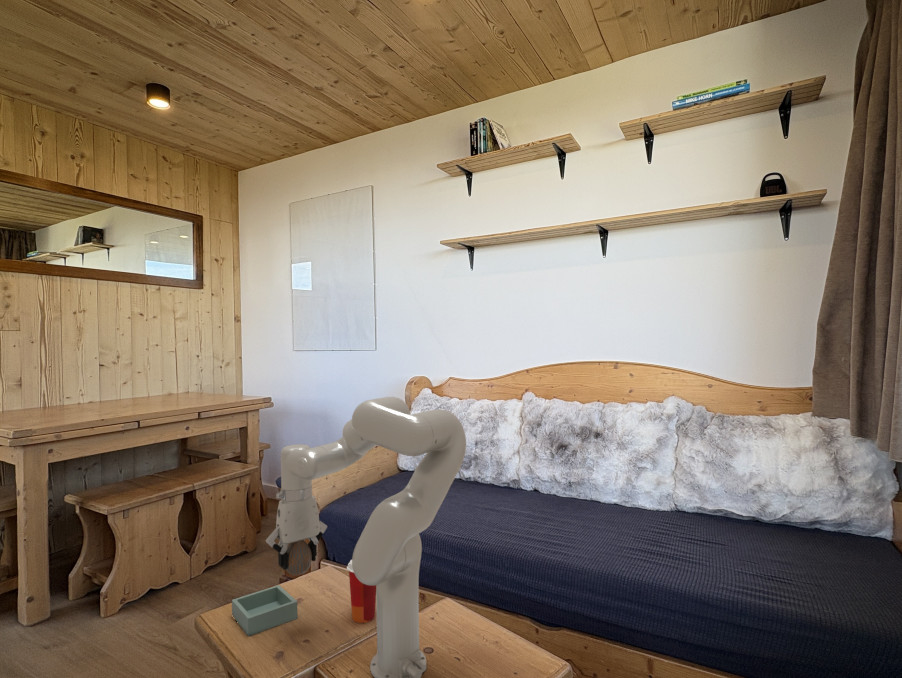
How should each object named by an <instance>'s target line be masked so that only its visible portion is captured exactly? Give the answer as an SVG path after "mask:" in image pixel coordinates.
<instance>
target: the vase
mask: <svg viewBox="0 0 902 678" xmlns="http://www.w3.org/2000/svg"><path fill="white" fill-rule="evenodd" d="M286 553H287V562H288V568H287V570H286V572H287V573H289V574H290V575H291V576H301V575H304V574H305V573H306V572H308V570H309V569H310V568H311V565H312V562H313V561H312V553H311V549H310V547H309V545H308V542H306V540H301V541H297V542H294V543H289V544H288V546H287V549H286Z"/></svg>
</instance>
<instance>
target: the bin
mask: <svg viewBox="0 0 902 678" xmlns="http://www.w3.org/2000/svg"><path fill="white" fill-rule="evenodd" d="M232 615H233V617H234V618H235V620H236V621H237V622H238V623H237V622H236V621H235V620H234V621H235V622H236V623H237V625H238V624H239V625H240V626H241V627H240V626H239V625H238V626H239V627H240V628H241V630H242V629H243V630H242V631H243V632H244V634H246V636H247V637H248V638H249V637H252V636H253V635H256V634H259V633H263V632H264V631H267V630H270V629H273V628H276V627H278V626H280V625H284V624H287V623H289V622H291V621H294V620H297V619H298V617H299V616H298V601H297V599H295V598H294V597H293V596H292V595H291V594H289V593H288V591H286V590H285V589H284V588H283V587H282V586H281V585H280V584H277V585H273V586H272V587H268V588H265V589H261V590H259V591H255V592H253V593H249V594H245V595H243V596H240V597H237V598H233V599H232V600H231V616H232ZM233 617H232V618H233Z"/></svg>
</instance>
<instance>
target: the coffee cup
mask: <svg viewBox="0 0 902 678" xmlns="http://www.w3.org/2000/svg"><path fill="white" fill-rule="evenodd" d="M346 570H347V571H348V575H349V576H348V578H349V580H348V581H349V591H350V604H351V616H352V620H353V622H354V623H357V624H367V623H369V622H371V621H373V620H374V619H375V617H376V588H377V585H374V586H370V585H366V584H363V583H362V582H360V581H359V580H358V579H357V577H356V576H355V573H354V571H353V567H352V559H350V561H349V562H348V564H347V566H346Z"/></svg>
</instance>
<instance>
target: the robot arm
mask: <svg viewBox="0 0 902 678" xmlns="http://www.w3.org/2000/svg"><path fill="white" fill-rule="evenodd" d="M377 446H379V447H381V448H384V449H387V450H389V451H391V452H394V453H397V454H400V455H403V456H406V457H417V456H421V455H424V454H425V455H424V457H423V458H422V459H421V460H420V462H419V463H418V464H417V465H416V468H415V470H414V472H413V473H412V476H411V478H410V479H409V482H408V483H407V485H405V487H404V488H403V489H402V490H401V491H399V492H398V493H396V494H394V495H391V496H389V497H387V498H385V499H383V500H382V501H381V502H380V503H379V504H378V505H376V507H375V508H374V510H373V511H372V513H371V514H370V516H369V518H368V520H367V522H366V524H365V526H364V529H363V530H362V531H361V534H360V537H358V540H357V542H356V544H355V547H354V549H353V551H352V552H353V553H352V557H351V558H352V559H351V560H352V567H353V571H354V573H355V576H356V577H357V579H358V580H359V581H360V582H362V583H363V584H366V585H370V586H374V585H376V606H375V613H376V654H375V655H373V657H372V659H371V660H370V664H369V667H370V668H369V669H370V673H371V675H372V676H373V677H374V678H422V677H423V673H424V672H426V671H427V668H428V666H427V658H426V655H425V654H424V652H423V651H422V650H420V615H419V612H420V610H419V608H420V607H419V597H420V596H419V594H420V593H419V579H420V577H419V575H420V566H421V558H422V552H423V551H422V550H423V549H422V548H423V547H422V545H423V544H422V539H421V535H420V533H422V532H423V531H425V530H427V529H428V528H429V527H430V526H431V524H432V523H433V521H434V519H435V517H436V515H437V513H438V511H439V509H440V508H441V505H442V504H443V502H444V499H446V497H447V494H448V492H449V490H450V488H451V486H452V484H453V482H454V481H455V478H456V477H457V475H458V473H459V471H460V469H461V467H462V465H463V461H464V458H465V457H466V455H465V454H466V452H467V451H466V450H467V438H466V432H465V429H464V426H463V425H462V423H461V421H460V419H459V418H458V417H457V416H456V415H455V414H454V413H453V412H451V411H449V410H446V409H431V410H425V411H422V412H417V413H413V414H411V410H410V408H409V405H408V404H407V403H406V402H405V401H404V400H403V399H401V398H399V397H395V396H384V397H379V398H372V399H367V400H365V401H363V402H361V403H359V404H358V405H357V407H356V408H355V409H354V411H353V413H352V415H351V419H350V420H349V421H347V422H346V423H345V424H344V425H343V427H342V436H341V437H340V438H338V439H337V440H335V441H334V442H330V443H326V444H322V445H318V446H314V447H310V446H309V445H308V444H303V443H302V444H299V443H298V444H290V445H287V446H284V447H283V448H281V451H280V452H281V453H280V472H281V473H280V474H281V475H280V478H281V479H280V480H281V482H280V484H281V487H280V491H279V492H277V493H276V494H275V496H276V497H275V498H276V499H281V500H279V502H278V507H277V512H276V521H275V522H276V523H275V528H274V530H273V531H272V532H271V533H270V534H269V535H268V537H267V538H266V540H265V542H266V543H267V544H268V545H269V546H270V547H271V548H272V549H273V550H275V551H276V552H278V553H277V554H278V556H277V557H278V560H277V561H278V566H279V567H280V568H281V569H282V570H284V571H287V568H288V562H287V553H286V549H287V547H288V546H289V544H290V543H294V542H297V541H301V540H304V541H306V540H309V542H307V544H308V545H309V547H310V549H311V553H312V561H311V562H316V557H317V555H318V552H317V550H318V549H317V548H318V547H317V545H318V544H319V541H320V540H321V538H322V537H323V535H324V533H325V532H326V530H327V529H328V525H327V524H325V523H324V522H323V521H321V520H320V515H319V509H318V503H317V500H316V496H314V495H313V480H316V479H319V478H322V477H326V476H328V475H331V474H334V473H337V472H341V471H342V470H344V469H346V468H348V467H350V466H351V465H353V464H355V463H356V462H358V461H359V460H361V459H363V458H364V457H365V455H367V454H368V452H369V451H371V450H372V449H374V448H375V447H377ZM276 539H277V540H279V542H278V543H276V541H275V540H276Z"/></svg>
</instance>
